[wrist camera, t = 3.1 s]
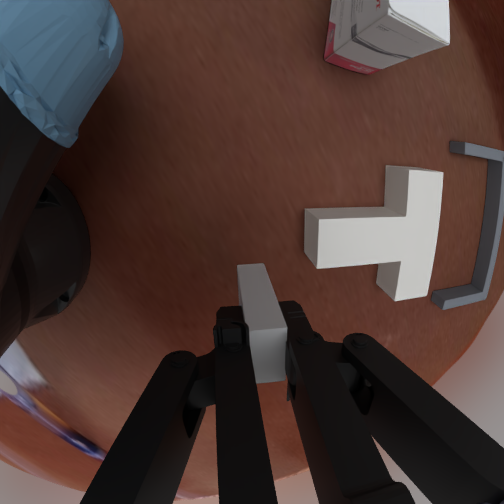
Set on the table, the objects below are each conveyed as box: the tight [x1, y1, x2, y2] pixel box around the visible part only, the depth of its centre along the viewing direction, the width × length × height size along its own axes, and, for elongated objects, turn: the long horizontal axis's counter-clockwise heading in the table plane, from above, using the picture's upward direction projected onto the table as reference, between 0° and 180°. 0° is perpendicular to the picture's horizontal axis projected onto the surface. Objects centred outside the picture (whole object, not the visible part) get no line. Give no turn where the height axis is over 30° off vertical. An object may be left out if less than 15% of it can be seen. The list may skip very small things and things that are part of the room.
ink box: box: [324, 0, 450, 75], centre depth 16 cm, size 9×5×12 cm, turn 170°
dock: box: [431, 141, 504, 310], centre depth 28 cm, size 8×18×2 cm, turn 2°
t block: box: [304, 165, 443, 301], centre depth 26 cm, size 12×12×4 cm
